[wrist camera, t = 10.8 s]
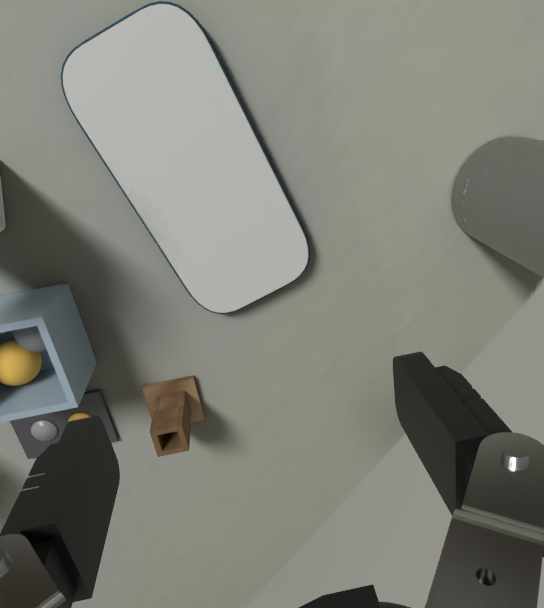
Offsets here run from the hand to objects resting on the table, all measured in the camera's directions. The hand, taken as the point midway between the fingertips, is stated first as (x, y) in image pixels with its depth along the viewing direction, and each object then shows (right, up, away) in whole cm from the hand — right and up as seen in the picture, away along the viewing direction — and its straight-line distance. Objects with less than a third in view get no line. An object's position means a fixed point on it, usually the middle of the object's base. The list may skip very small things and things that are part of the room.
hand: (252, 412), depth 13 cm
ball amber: (-21, -2, +29) cm, 36 cm away
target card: (-20, -9, +34) cm, 41 cm away
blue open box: (-21, 0, +30) cm, 37 cm away
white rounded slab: (-6, +14, +27) cm, 31 cm away
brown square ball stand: (-9, -7, +35) cm, 37 cm away
